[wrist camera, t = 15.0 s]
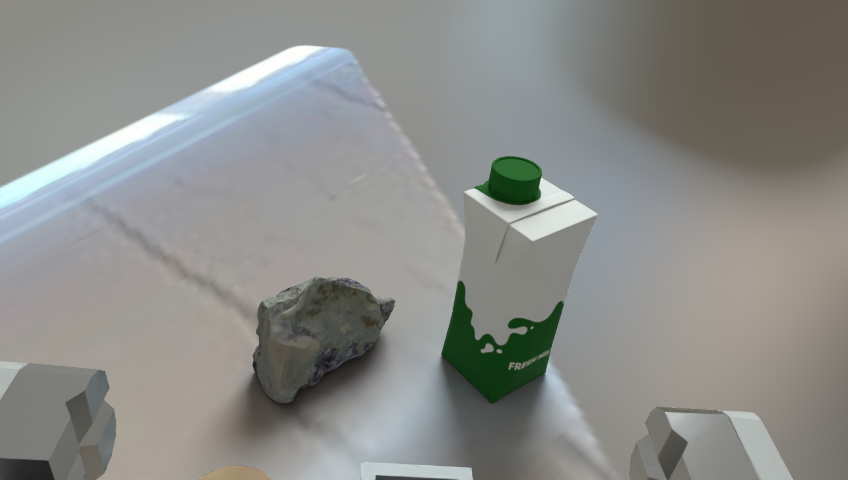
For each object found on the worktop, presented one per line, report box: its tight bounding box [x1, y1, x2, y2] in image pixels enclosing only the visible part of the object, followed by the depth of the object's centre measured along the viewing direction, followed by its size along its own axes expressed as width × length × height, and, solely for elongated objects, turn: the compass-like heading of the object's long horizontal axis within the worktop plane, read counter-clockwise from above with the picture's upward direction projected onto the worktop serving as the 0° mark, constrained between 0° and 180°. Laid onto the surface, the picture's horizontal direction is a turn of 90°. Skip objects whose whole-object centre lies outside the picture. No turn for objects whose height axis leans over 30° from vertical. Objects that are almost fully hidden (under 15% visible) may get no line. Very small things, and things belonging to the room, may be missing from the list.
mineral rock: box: [252, 277, 395, 403], centre depth 60 cm, size 13×11×10 cm
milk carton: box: [441, 156, 598, 403], centre depth 59 cm, size 9×9×20 cm
